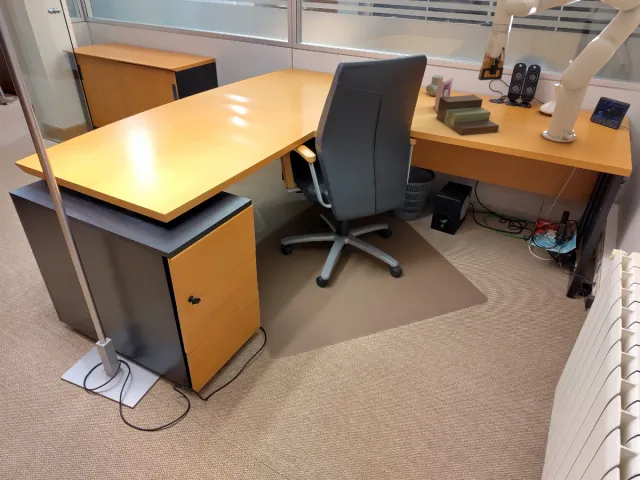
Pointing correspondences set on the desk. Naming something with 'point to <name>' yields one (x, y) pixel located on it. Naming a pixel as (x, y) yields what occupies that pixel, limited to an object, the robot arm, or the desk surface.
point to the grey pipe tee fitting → (433, 85)
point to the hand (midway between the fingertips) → (490, 73)
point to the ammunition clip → (486, 69)
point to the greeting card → (442, 90)
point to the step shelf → (465, 115)
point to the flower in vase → (550, 106)
